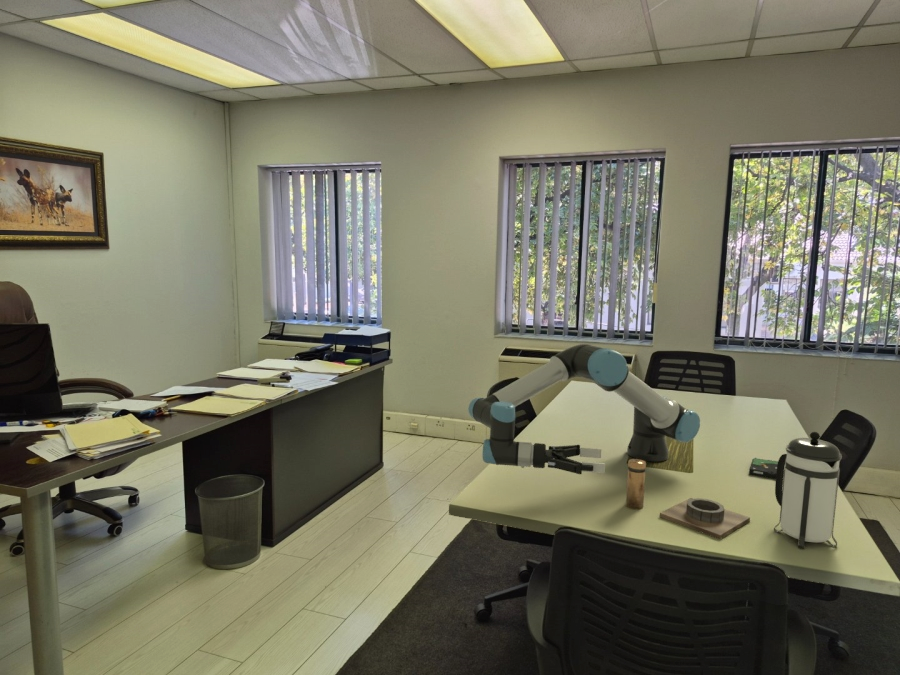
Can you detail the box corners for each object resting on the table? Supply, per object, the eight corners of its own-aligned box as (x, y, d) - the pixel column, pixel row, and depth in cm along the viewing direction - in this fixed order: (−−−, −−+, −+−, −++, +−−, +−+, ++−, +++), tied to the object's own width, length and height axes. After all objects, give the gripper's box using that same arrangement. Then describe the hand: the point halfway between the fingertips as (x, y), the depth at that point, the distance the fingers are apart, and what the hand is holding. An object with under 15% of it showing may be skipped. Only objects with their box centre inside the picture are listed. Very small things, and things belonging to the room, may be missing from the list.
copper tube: (631, 501, 187) (634, 457, 185) (646, 506, 183) (649, 462, 181) (622, 505, 183) (624, 461, 181) (637, 511, 179) (639, 465, 177)
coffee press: (842, 537, 164) (854, 431, 160) (830, 558, 153) (843, 444, 149) (772, 518, 176) (782, 418, 172) (757, 536, 164) (766, 429, 160)
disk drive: (782, 482, 207) (783, 469, 219) (782, 474, 206) (784, 461, 219) (748, 476, 212) (751, 463, 224) (749, 468, 211) (752, 456, 224)
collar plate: (690, 501, 187) (691, 488, 186) (749, 521, 173) (750, 507, 173) (659, 516, 176) (660, 503, 175) (720, 539, 162) (721, 524, 161)
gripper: (533, 454, 199) (599, 459, 195) (530, 480, 174) (605, 487, 171) (534, 432, 198) (600, 437, 194) (531, 456, 173) (607, 462, 170)
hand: (603, 460), depth 183 cm, fingers open, 13 cm apart
